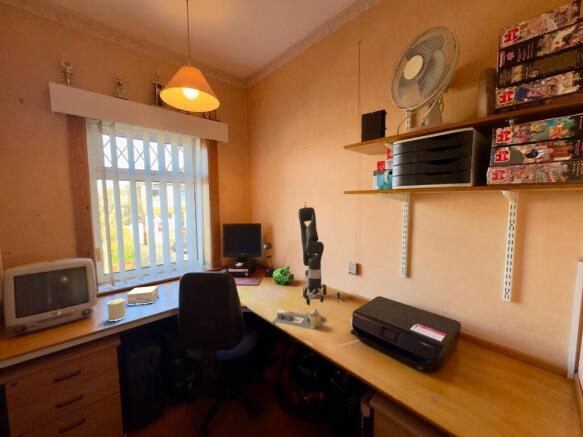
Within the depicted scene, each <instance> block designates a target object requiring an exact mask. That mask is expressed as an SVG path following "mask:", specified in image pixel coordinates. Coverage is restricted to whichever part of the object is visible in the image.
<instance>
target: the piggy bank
mask: <svg viewBox="0 0 583 437" xmlns="http://www.w3.org/2000/svg"><path fill="white" fill-rule="evenodd" d="M290 268H291V267H290V265H288V266H287V267H281V268H280V267H279V268H276V269H275V270H274V271H273V273H272V277H273V280H274V284H276V285H281V286H284V285H286V284H289V283H292V282H293V281H294V280H295V275H294V274H293V273H291V271H290Z"/></svg>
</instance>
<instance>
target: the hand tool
mask: <svg viewBox="0 0 583 437" xmlns="http://www.w3.org/2000/svg"><path fill="white" fill-rule="evenodd" d="M350 334H351V335H352V336H356V337H357V335H356V332H355V330H354V328H353V329H351V331H350Z"/></svg>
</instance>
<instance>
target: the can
mask: <svg viewBox="0 0 583 437" xmlns="http://www.w3.org/2000/svg"><path fill="white" fill-rule="evenodd" d="M125 301H126V299H124V298H116V299H112V300H109V301H108V302H107V313H108V314H107V315H108V321H109V320H115V319H119V318H122V317H124V316H125V315H126V302H125ZM126 316H127V315H126Z"/></svg>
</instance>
